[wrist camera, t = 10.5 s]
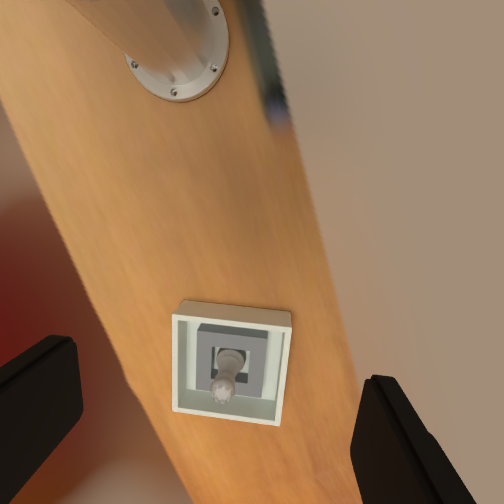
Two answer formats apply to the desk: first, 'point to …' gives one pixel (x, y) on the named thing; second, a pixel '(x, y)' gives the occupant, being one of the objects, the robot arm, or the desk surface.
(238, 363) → the rook chess piece
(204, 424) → the desk surface
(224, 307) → the box
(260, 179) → the desk surface
